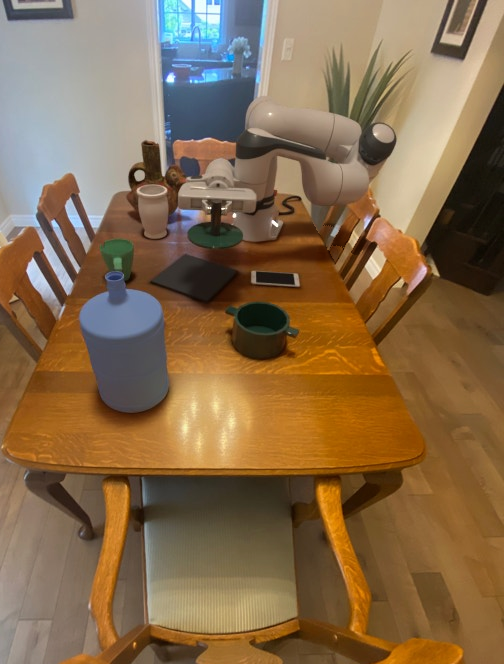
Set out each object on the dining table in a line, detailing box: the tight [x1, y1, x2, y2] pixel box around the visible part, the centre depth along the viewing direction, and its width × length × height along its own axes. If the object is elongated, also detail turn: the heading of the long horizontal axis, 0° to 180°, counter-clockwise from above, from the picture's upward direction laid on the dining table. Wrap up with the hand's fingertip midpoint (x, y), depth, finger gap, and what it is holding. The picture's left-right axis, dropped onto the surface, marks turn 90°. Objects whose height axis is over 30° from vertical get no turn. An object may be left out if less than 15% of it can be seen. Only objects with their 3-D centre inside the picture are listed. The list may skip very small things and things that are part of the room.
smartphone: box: [250, 270, 301, 288], centre depth 114 cm, size 8×1×15 cm
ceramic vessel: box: [125, 139, 187, 218], centre depth 134 cm, size 17×26×25 cm, turn 77°
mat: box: [150, 253, 239, 303], centre depth 114 cm, size 20×20×1 cm
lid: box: [186, 199, 244, 250], centre depth 92 cm, size 15×15×9 cm
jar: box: [137, 185, 169, 240], centre depth 128 cm, size 11×10×15 cm
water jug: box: [78, 271, 170, 414], centre depth 72 cm, size 16×16×28 cm
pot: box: [224, 300, 301, 360], centre depth 92 cm, size 14×19×8 cm
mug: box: [99, 238, 135, 282], centre depth 109 cm, size 15×10×10 cm
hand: (216, 212), depth 90 cm, fingers closed on lid, 2 cm apart
